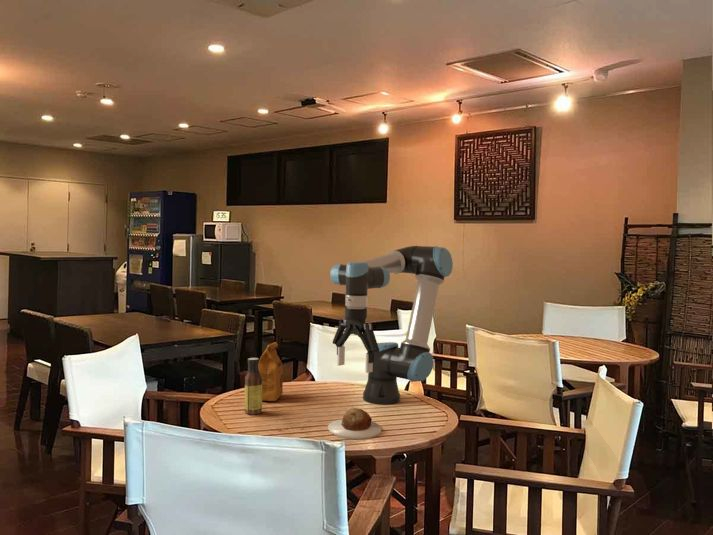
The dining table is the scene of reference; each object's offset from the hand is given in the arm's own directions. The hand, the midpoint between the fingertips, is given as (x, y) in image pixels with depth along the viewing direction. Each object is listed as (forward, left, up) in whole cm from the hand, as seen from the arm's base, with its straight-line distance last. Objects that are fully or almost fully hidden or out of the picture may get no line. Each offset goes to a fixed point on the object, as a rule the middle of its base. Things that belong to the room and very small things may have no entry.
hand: (354, 368), depth 206 cm
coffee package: (+3, -45, -20) cm, 49 cm away
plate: (+3, +4, -20) cm, 21 cm away
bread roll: (+2, +4, -19) cm, 20 cm away
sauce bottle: (+19, -33, -20) cm, 43 cm away
